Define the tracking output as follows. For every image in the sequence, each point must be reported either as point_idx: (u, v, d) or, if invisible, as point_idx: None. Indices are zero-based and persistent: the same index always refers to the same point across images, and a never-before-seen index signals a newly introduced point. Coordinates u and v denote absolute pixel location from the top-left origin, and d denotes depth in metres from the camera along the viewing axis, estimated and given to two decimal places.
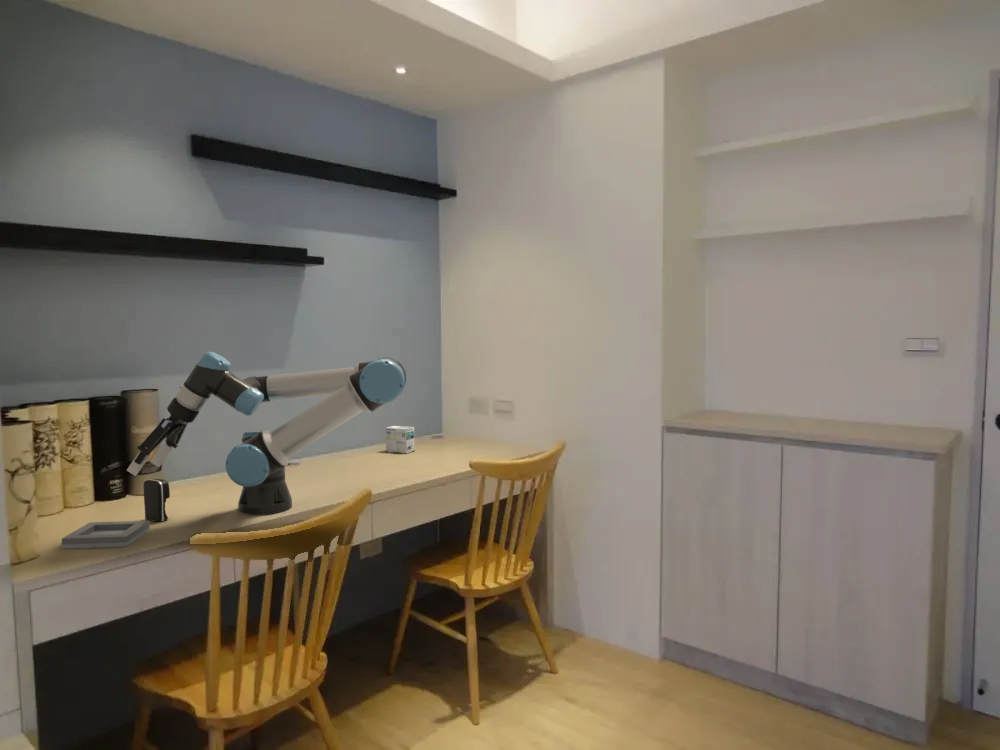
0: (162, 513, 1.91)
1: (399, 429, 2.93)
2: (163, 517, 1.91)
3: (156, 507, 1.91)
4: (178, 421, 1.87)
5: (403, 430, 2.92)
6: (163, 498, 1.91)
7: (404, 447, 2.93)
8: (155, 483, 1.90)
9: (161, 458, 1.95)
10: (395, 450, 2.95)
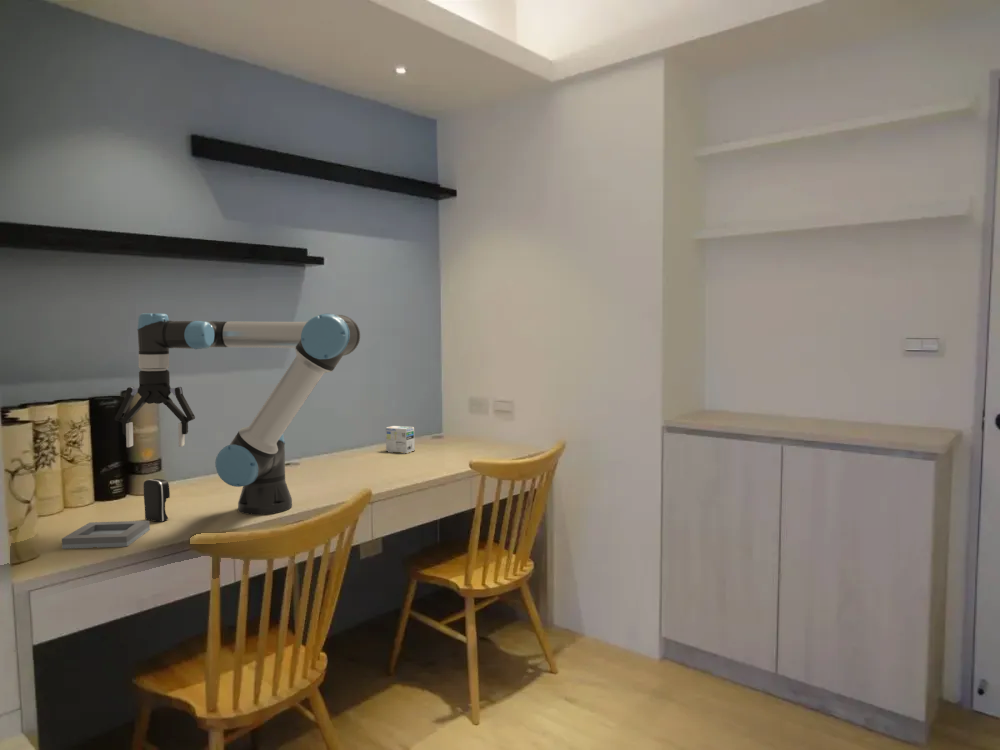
0: (162, 513, 1.91)
1: (399, 429, 2.93)
2: (163, 517, 1.91)
3: (156, 507, 1.91)
4: (147, 387, 1.90)
5: (403, 430, 2.92)
6: (163, 498, 1.91)
7: (404, 447, 2.93)
8: (155, 483, 1.90)
9: None
10: (395, 450, 2.95)
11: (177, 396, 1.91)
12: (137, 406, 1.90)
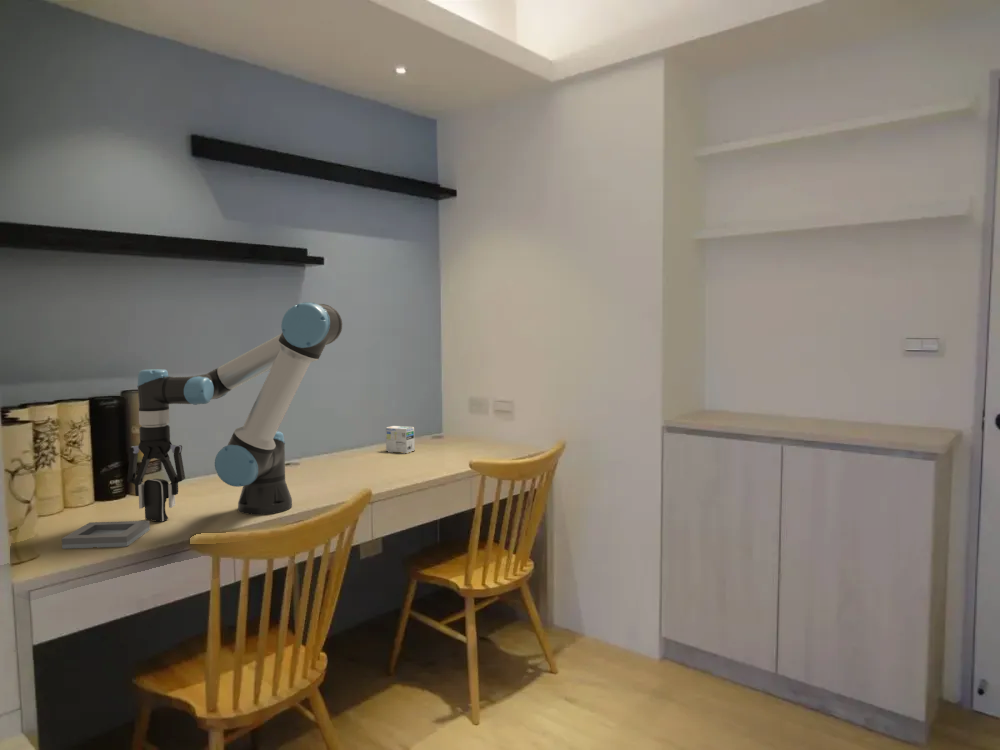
0: (162, 513, 1.91)
1: (399, 429, 2.93)
2: (163, 517, 1.91)
3: (156, 507, 1.91)
4: (146, 441, 1.91)
5: (403, 430, 2.92)
6: (163, 498, 1.91)
7: (404, 447, 2.93)
8: (155, 483, 1.90)
9: None
10: (395, 450, 2.95)
11: (175, 455, 1.92)
12: (143, 464, 1.91)
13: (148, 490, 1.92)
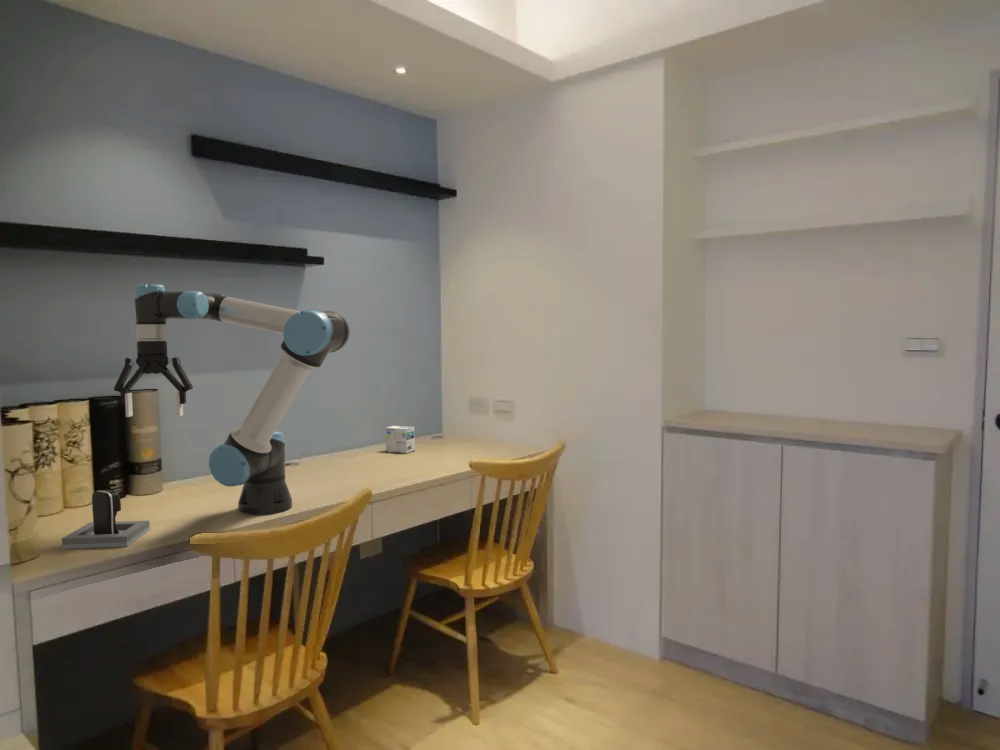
0: (112, 528, 1.74)
1: (399, 429, 2.93)
2: (112, 532, 1.74)
3: (105, 522, 1.73)
4: (144, 357, 1.92)
5: (403, 430, 2.92)
6: (113, 511, 1.74)
7: (404, 447, 2.93)
8: (104, 495, 1.73)
9: None
10: (395, 450, 2.95)
11: (174, 366, 1.93)
12: (135, 376, 1.92)
13: (96, 503, 1.75)
